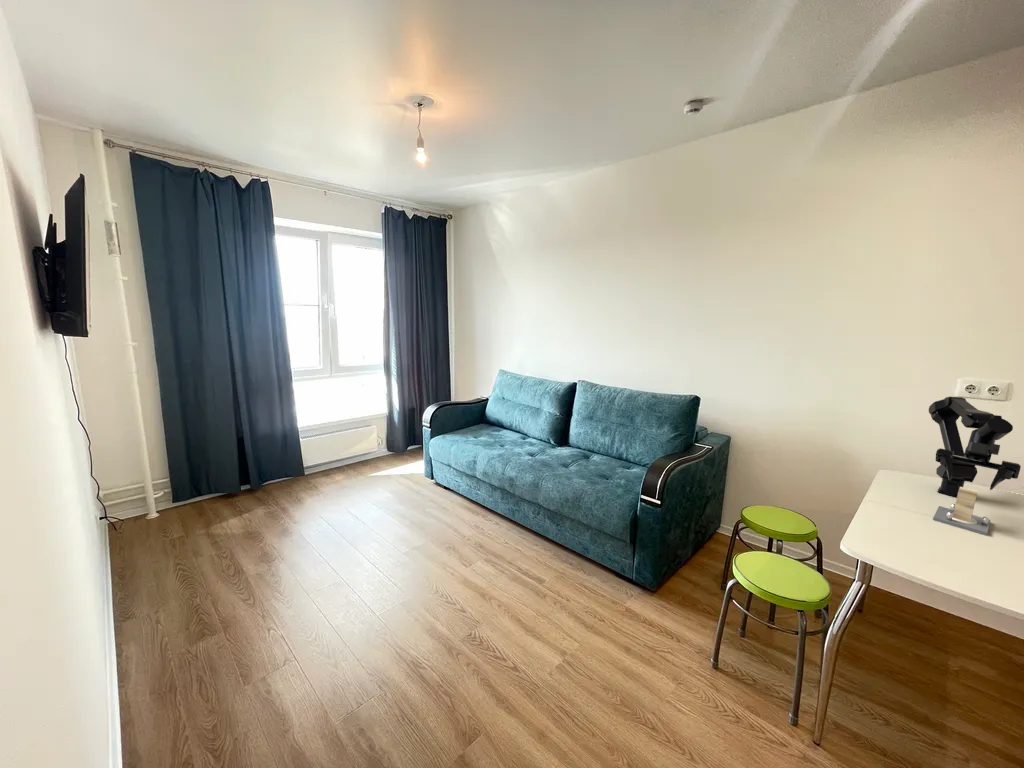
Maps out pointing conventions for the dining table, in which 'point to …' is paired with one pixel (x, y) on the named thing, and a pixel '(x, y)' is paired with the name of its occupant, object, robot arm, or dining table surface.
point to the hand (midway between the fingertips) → (969, 484)
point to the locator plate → (975, 524)
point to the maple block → (965, 504)
